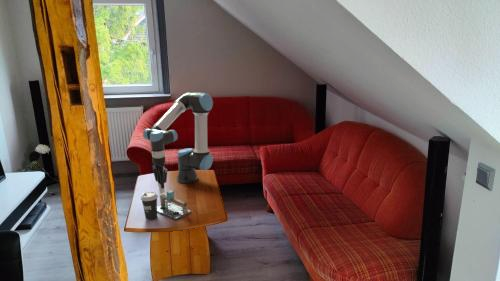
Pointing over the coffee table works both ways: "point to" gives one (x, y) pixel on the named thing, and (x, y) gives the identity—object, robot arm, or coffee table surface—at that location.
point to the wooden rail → (183, 204)
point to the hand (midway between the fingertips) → (162, 192)
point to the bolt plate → (172, 211)
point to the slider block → (169, 197)
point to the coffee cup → (150, 205)
